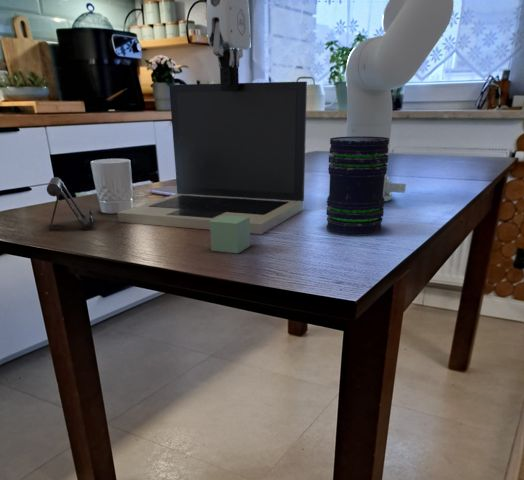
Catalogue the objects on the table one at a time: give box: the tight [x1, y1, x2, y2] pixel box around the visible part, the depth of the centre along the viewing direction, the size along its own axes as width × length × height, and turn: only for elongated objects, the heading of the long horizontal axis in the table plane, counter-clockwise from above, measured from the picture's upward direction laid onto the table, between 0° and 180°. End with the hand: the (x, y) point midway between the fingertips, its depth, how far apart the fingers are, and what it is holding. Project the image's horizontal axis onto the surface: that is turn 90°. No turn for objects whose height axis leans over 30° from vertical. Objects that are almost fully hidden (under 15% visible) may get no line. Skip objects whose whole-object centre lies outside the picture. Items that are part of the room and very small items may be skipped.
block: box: [209, 215, 251, 254], centre depth 80 cm, size 5×5×5 cm
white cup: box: [90, 158, 134, 215], centre depth 107 cm, size 8×8×10 cm
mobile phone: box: [148, 185, 192, 197], centre depth 127 cm, size 8×1×15 cm
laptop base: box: [116, 194, 303, 235], centre depth 103 cm, size 22×30×2 cm
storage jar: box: [326, 136, 389, 237], centre depth 88 cm, size 10×10×15 cm
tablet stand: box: [46, 176, 94, 231], centre depth 95 cm, size 9×8×8 cm
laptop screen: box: [168, 80, 308, 202], centre depth 107 cm, size 22×30×1 cm
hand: (229, 90), depth 102 cm, fingers closed
